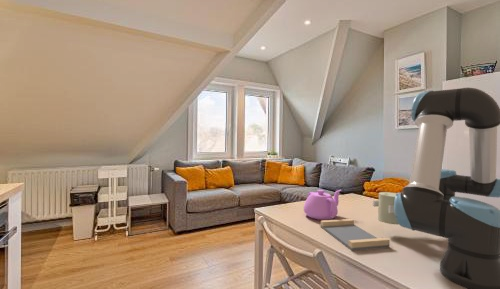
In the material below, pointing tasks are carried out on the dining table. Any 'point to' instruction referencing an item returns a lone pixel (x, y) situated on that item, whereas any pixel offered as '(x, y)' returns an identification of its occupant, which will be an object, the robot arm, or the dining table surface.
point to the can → (386, 207)
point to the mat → (353, 235)
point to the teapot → (321, 205)
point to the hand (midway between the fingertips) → (381, 206)
